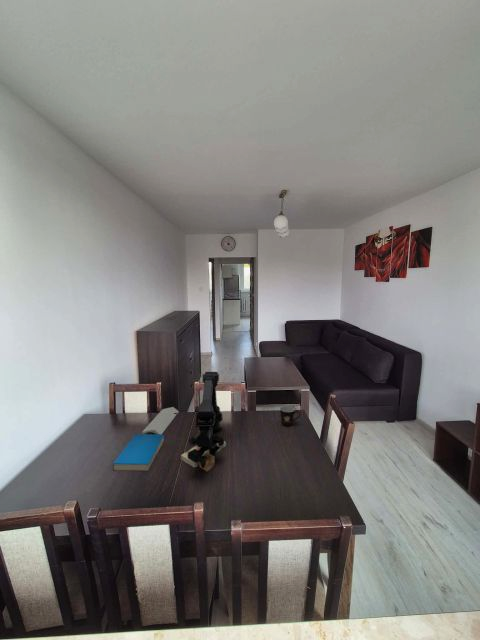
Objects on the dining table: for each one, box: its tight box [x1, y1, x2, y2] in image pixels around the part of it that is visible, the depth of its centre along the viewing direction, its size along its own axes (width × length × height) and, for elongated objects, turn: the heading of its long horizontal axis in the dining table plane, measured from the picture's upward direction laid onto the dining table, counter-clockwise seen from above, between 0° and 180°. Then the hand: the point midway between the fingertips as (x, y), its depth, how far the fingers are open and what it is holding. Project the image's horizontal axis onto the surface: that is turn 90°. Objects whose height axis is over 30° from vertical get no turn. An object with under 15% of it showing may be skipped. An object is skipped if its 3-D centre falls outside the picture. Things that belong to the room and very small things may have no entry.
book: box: [112, 433, 165, 472], centre depth 141 cm, size 17×4×25 cm
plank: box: [180, 440, 227, 468], centre depth 142 cm, size 22×10×2 cm, turn 141°
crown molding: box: [140, 406, 180, 434], centre depth 174 cm, size 29×12×4 cm, turn 173°
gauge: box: [199, 453, 216, 472], centre depth 131 cm, size 5×5×6 cm
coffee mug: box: [279, 405, 301, 428], centre depth 168 cm, size 12×9×10 cm
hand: (207, 464), depth 131 cm, fingers closed on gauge, 5 cm apart
